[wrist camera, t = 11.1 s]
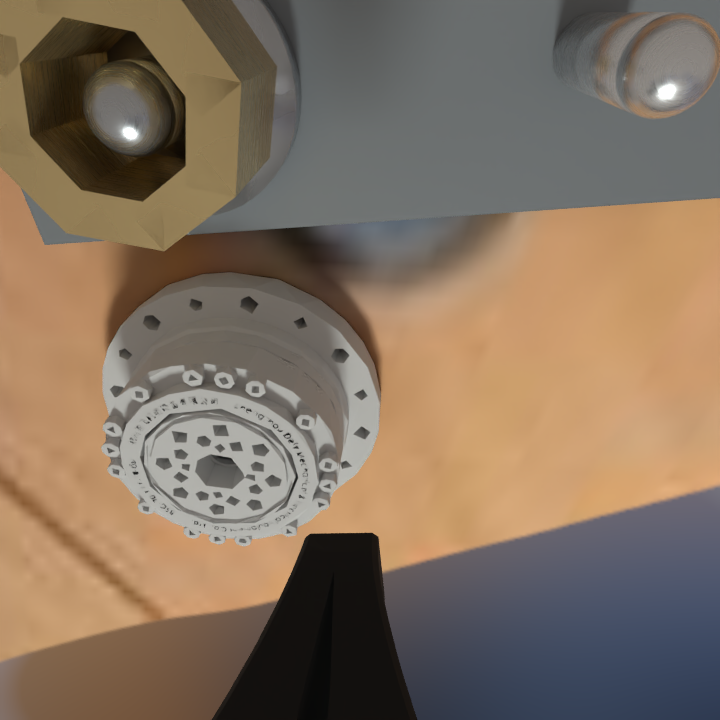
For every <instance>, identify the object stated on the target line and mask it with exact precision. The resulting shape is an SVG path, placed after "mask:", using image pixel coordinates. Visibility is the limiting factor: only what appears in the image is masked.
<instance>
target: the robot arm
mask: <svg viewBox="0 0 720 720" xmlns="http://www.w3.org/2000/svg"><path fill="white" fill-rule="evenodd" d="M384 600H385V599H384V586H383V577H382V567H381V558H380V548H379V539H378V536H376V535H375V534H373V533H331V534H309V535H308V536H307V537H306V538H305V540H304V543H303V546H302V548H301V551H300V553H299V556H298V558H297V561H296V563H295V566H294V568H293V570H292V573H291V575H290V577H289V579H288V582H287V584H286V586H285V588H284V590H283V592H282V594H281V596H280V599H279V601H278V603H277V605H276V607H275V609H274V611H273V613H272V615H271V616H270V619H269V620H268V622H267V624H266V626H265V628H264V630H263V632H262V634H261V636H260V638H259V640H258V642H257V644H256V645H255V647H254V649H253V651H252V653H251V654H250V656H249V658H248V660H247V661H246V663H245V665H244V667H243V669H242V670H241V672H240V674H239V675H238V677H237V679H236V680H235V682H234V684H233V686H232V687H231V689H230V691H229V693H228V694H227V696H226V698H225V699H224V701H223V702H222V704H221V706H220V707H219V709H218V710H217V712H216V714H215V715H214V717H213V719H212V720H417V717H416V714H415V711H414V708H413V706H412V702H411V699H410V696H409V692H408V690H407V686H406V683H405V679H404V676H403V673H402V670H401V666H400V663H399V659H398V656H397V652H396V649H395V644H394V641H393V636H392V632H391V628H390V624H389V621H388V616H387V611H386V607H385V601H384Z"/></svg>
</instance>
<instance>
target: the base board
mask: <svg viewBox="0 0 720 720" xmlns="http://www.w3.org/2000/svg"><path fill="white" fill-rule="evenodd" d="M267 1H268V3H269V4H270V5H271V7H272V8H273V9H274V11H275V12H276V14H277V16H278V18H279V19H280V21H281V23H282V25H283V26H284V28H285V31H286V33H287V35H288V37H289V40H290V42H291V44H292V47H293V51H294V54H295V57H296V60H297V65H298V70H299V75H300V81H301V95H302V99H301V115H300V121H299V127H298V131H297V135H296V138H295V141H294V144H293V146H292V149H291V151H290V153H289V155H288V157H287V159H286V160H285V162H284V164H283V165H282V167H281V168H280V170H279V171H278V172H277V174H276V175H275V176H274V178H273V179H272V180H271V181H270V183H269V184H268V185H267V186H266V187H265V188H264V189H263V190H262V191H261V192H260V193H259V194H258V195H257V196H255V197H254V198H253V199H251V200H250V201H248V202H247V203H245V204H244V205H242V206H240V207H238V208H235V209H233V210H231V211H228V212H225V213H221V214H218V215H212V216H210V217H209V218H207V219H206V220H205V221H203V222H202V223H201V224H199V225H198V226H197V227H195V228H194V229H193V230H191V231H190V232H189V233H188V234H186V235H194V234H208V233H222V232H237V231H251V230H266V229H280V228H294V227H309V226H323V225H337V224H352V223H366V222H380V221H395V220H409V219H424V218H438V217H452V216H467V215H481V214H495V213H510V212H524V211H538V210H553V209H567V208H582V207H596V206H610V205H625V204H639V203H653V202H668V201H682V200H696V199H711V198H720V67H719V71H718V74H717V76H716V78H715V80H714V82H713V84H712V86H711V87H710V89H709V90H708V91H707V92H706V94H705V95H704V96H703V97H702V98H701V99H700V100H699V101H698V102H697V103H696V104H694V105H693V106H692V107H690V108H689V109H687V110H685V111H684V112H682V113H680V114H677V115H675V116H672V117H668V118H663V119H646V118H642V117H639V116H636V115H634V114H632V113H629V112H627V111H625V110H622V109H620V108H618V107H615V106H613V105H611V104H608V103H606V102H604V101H601V100H599V99H597V98H594V97H592V96H590V95H587V94H585V93H583V92H580V91H578V90H576V89H573V88H571V87H569V86H567V85H565V84H564V83H562V82H561V81H560V80H559V78H558V77H557V75H556V73H555V71H554V67H553V60H552V59H553V50H554V46H555V43H556V40H557V38H558V36H559V35H560V33H561V32H562V30H563V29H564V28H565V27H566V26H567V25H568V24H569V23H570V22H571V21H572V20H573V19H575V18H577V17H578V16H581V15H583V14H586V13H591V12H685V13H692V14H695V15H698V16H700V17H702V18H703V19H705V20H706V21H707V22H709V23H710V24H711V25H712V26H713V28H714V29H715V31H716V32H717V34H718V37H719V39H720V0H267ZM21 189H22V188H21ZM22 192H23V194H24V196H25V199H26V201H27V204H28V206H29V208H30V211H31V213H32V215H33V218H34V220H35V223H36V225H37V227H38V230H39V232H40V234H41V237H42V239H43V242H44V244H45V245H50V244H64V243H79V242H93V241H106V240H100V239H95V238H89V237H84V236H79V235H73V234H68V233H66V232H65V231H64V230H63V229H62V228H61V227H60V226H59V225H58V224H57V223H56V222H55V221H54V220H53V219H52V218H51V217H50V216H49V215H48V214H47V213H46V212H45V211H44V210H43V209H42V208H41V207H40V206H39V205H38V204H37V203H36V202H35V201H34V200H33V199H32V198H31V197H30V196H29V195H28V194H27V193H26V192H25V191H24V190H23V189H22Z"/></svg>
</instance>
